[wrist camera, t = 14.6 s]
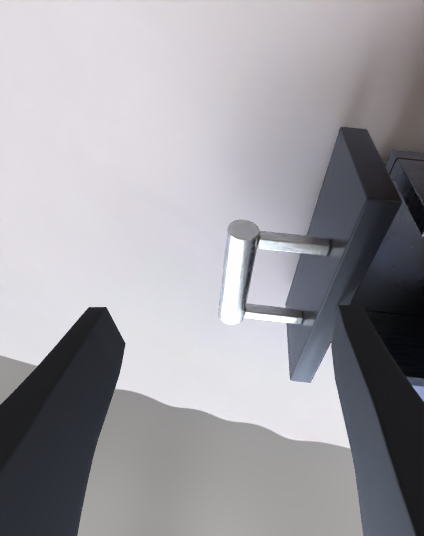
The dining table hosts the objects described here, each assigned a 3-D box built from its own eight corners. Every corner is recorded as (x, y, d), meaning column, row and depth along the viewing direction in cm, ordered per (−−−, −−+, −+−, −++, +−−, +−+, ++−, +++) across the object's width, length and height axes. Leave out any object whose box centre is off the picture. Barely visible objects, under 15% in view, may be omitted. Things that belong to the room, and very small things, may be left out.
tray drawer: (220, 296, 25) (212, 371, 21) (239, 116, 16) (232, 183, 12) (469, 324, 24) (511, 407, 20) (629, 153, 16) (762, 238, 11)
